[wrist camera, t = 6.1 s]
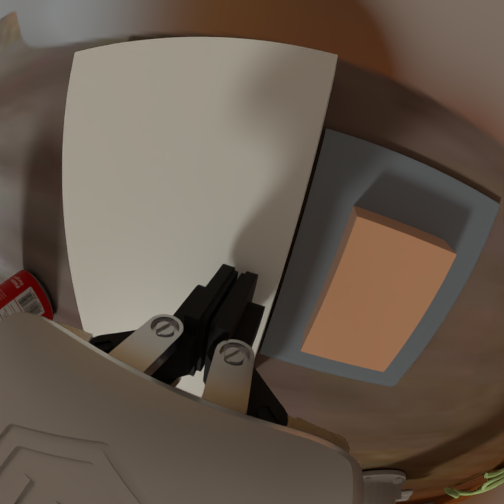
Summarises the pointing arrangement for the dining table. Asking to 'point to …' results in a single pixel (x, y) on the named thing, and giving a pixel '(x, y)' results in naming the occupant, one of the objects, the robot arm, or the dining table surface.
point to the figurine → (492, 482)
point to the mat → (386, 204)
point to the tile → (375, 291)
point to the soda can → (24, 296)
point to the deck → (185, 170)
